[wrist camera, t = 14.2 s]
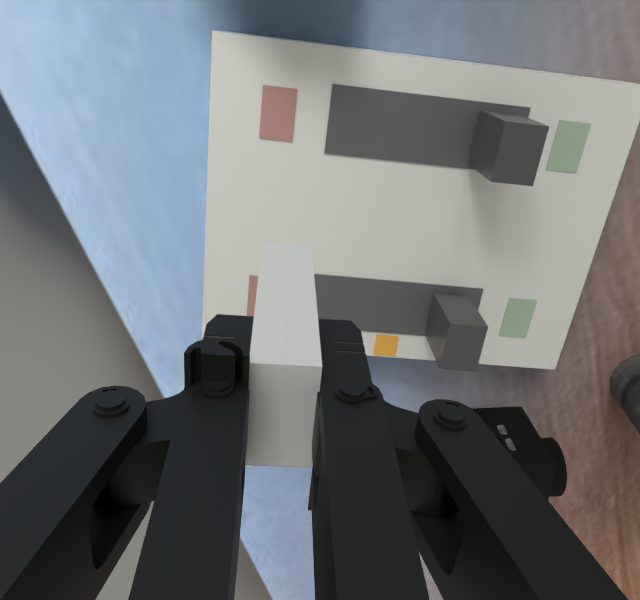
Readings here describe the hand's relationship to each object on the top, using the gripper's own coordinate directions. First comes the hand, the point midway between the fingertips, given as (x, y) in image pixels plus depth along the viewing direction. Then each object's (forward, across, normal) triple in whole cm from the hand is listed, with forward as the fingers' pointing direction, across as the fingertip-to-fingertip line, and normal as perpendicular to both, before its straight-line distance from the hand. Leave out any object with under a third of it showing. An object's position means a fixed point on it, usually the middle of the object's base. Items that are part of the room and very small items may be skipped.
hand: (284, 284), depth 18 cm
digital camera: (+22, +20, -26) cm, 39 cm away
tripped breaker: (+18, +12, -10) cm, 24 cm away
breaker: (+19, +12, +2) cm, 22 cm away
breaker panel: (+22, +8, -4) cm, 24 cm away
